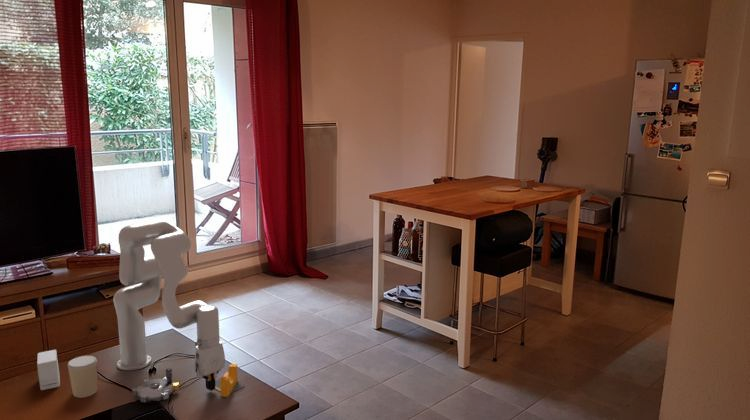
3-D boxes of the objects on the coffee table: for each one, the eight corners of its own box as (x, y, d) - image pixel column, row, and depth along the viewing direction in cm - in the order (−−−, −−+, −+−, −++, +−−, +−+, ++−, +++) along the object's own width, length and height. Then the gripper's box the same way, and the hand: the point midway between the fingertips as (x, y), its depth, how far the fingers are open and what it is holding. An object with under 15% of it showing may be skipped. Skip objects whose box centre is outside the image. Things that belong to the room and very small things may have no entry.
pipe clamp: (226, 380, 217) (225, 363, 216) (237, 380, 217) (237, 364, 216) (216, 396, 205) (215, 379, 204) (228, 396, 205) (227, 379, 204)
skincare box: (39, 378, 217) (37, 352, 215) (59, 374, 220) (57, 348, 218) (39, 390, 208) (36, 363, 206) (59, 386, 211) (57, 359, 209)
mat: (206, 384, 214) (206, 384, 214) (224, 376, 220) (224, 376, 220) (226, 395, 207) (226, 394, 206) (244, 386, 213) (244, 386, 213)
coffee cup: (105, 388, 210) (102, 357, 208) (85, 400, 202) (82, 368, 199) (85, 384, 213) (82, 353, 211) (64, 396, 205) (61, 364, 202)
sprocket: (151, 379, 215) (149, 361, 213) (185, 384, 211) (184, 366, 210) (124, 399, 200) (122, 380, 199) (160, 405, 197) (159, 386, 196)
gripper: (196, 350, 197) (199, 400, 200) (232, 336, 208) (234, 384, 212) (183, 344, 201) (186, 393, 205) (219, 331, 213) (221, 378, 216)
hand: (210, 388), depth 208 cm, fingers closed
